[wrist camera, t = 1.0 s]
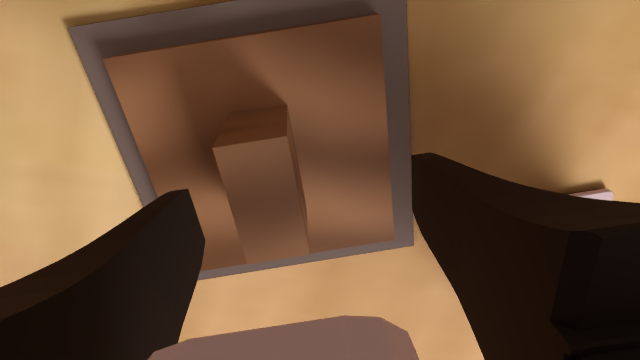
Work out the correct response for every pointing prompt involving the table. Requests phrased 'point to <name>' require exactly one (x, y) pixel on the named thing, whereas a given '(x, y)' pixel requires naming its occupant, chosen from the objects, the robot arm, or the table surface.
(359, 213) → the lid
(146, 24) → the mat
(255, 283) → the table surface
